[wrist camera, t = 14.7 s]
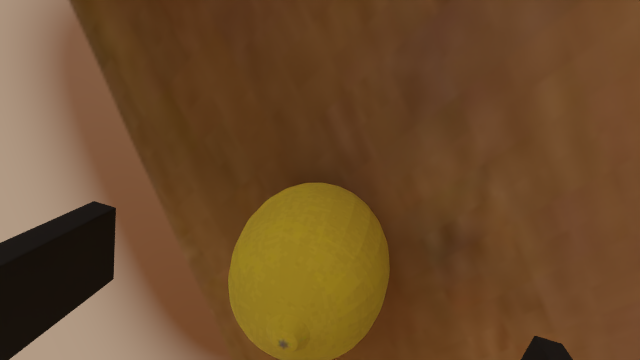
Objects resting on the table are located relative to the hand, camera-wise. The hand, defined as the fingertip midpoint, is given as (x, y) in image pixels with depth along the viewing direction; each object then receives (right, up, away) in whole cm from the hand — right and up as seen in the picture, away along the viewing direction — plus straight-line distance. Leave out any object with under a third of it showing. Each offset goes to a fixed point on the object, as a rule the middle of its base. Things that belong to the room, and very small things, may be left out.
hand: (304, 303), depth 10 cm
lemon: (+1, +2, +6) cm, 6 cm away
